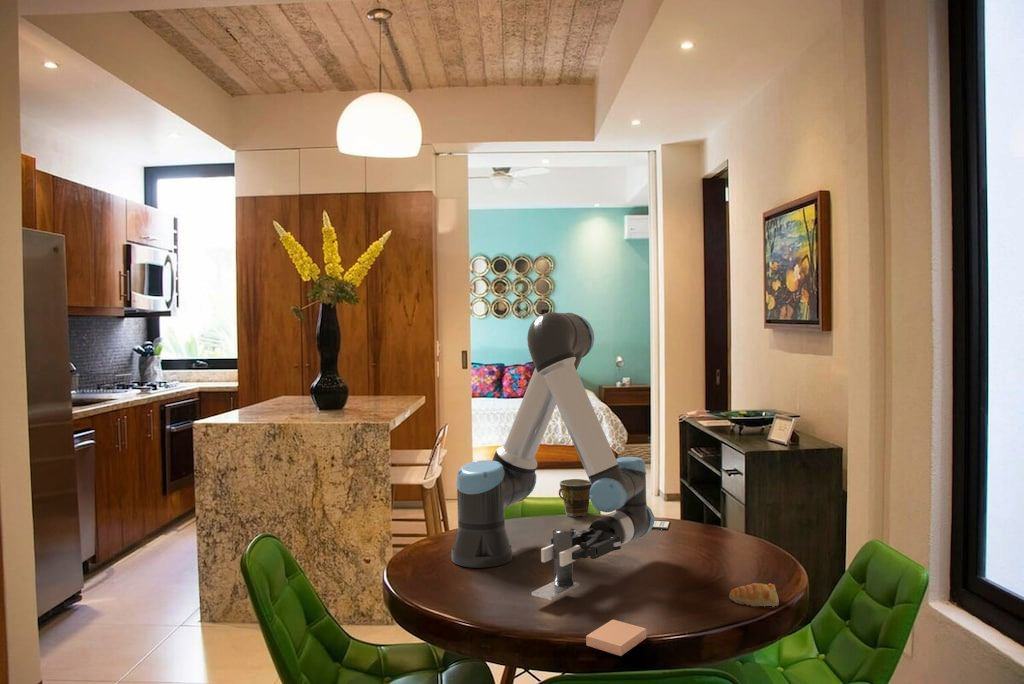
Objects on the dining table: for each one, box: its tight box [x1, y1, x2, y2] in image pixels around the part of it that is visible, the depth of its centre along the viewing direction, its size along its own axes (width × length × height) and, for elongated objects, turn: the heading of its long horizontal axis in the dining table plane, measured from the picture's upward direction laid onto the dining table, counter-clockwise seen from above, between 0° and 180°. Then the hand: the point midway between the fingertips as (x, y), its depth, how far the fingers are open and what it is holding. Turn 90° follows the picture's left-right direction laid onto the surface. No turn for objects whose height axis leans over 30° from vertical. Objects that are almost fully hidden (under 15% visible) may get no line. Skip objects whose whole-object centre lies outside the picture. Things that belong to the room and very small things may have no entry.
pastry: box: [728, 582, 780, 608], centre depth 143 cm, size 9×7×4 cm
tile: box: [585, 619, 647, 657], centre depth 125 cm, size 7×2×9 cm
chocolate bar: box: [652, 519, 671, 531], centre depth 203 cm, size 9×1×18 cm
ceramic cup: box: [558, 478, 592, 518], centre depth 214 cm, size 13×10×10 cm
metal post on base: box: [531, 528, 580, 601], centre depth 145 cm, size 5×10×12 cm, turn 141°
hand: (551, 557), depth 144 cm, fingers closed on metal post on base, 4 cm apart
